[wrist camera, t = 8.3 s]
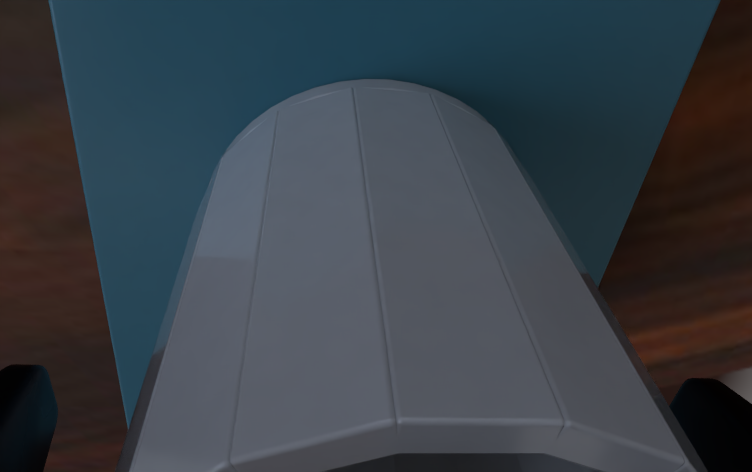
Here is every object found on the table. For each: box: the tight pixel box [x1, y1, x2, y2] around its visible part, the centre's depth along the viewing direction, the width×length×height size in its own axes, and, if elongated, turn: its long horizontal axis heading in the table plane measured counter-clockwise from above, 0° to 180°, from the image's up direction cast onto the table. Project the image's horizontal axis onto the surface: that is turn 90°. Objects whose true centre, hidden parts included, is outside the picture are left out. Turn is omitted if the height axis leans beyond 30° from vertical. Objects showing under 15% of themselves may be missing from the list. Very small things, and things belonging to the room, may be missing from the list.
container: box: [48, 0, 720, 429], centre depth 14 cm, size 14×11×5 cm
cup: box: [115, 79, 708, 472], centre depth 9 cm, size 6×6×7 cm
